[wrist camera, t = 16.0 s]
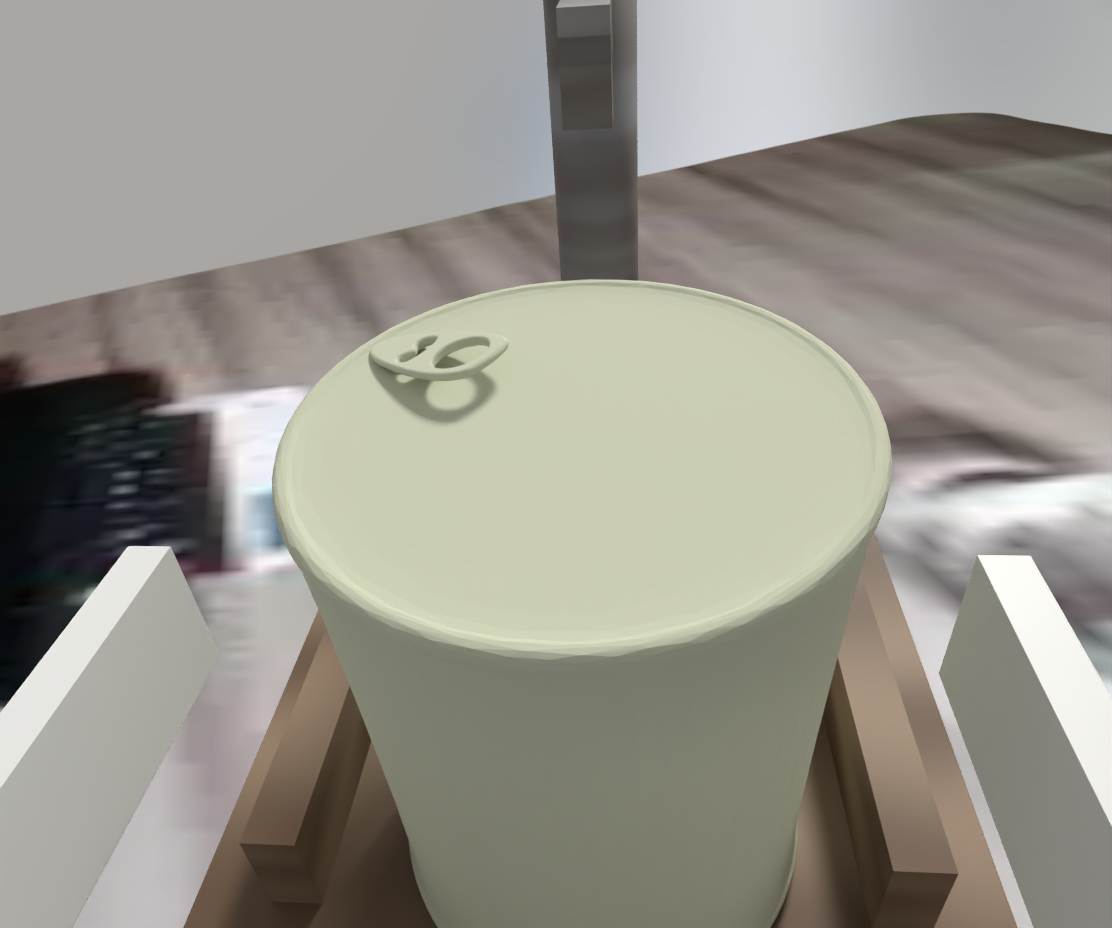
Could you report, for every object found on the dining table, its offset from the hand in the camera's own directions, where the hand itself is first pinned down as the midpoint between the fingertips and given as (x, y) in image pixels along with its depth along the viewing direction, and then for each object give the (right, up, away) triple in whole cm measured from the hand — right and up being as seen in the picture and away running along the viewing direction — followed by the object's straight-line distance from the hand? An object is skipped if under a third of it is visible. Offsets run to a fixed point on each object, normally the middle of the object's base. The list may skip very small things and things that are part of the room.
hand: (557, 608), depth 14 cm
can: (+1, -6, +6) cm, 8 cm away
